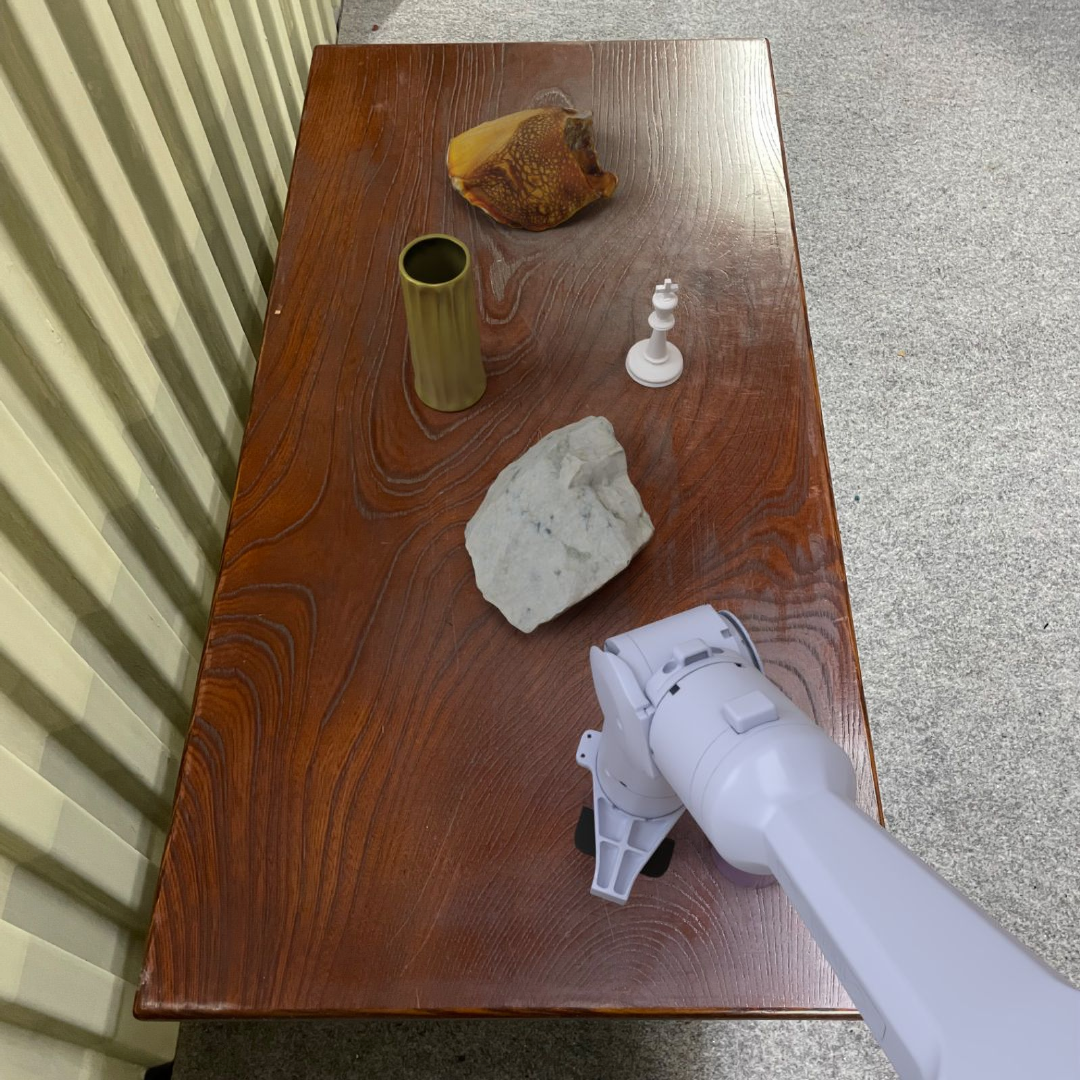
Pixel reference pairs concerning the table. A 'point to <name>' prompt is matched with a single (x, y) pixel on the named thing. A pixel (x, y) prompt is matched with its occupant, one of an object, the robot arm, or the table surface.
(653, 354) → the chess piece
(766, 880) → the purple round peg
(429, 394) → the vase
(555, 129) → the seashell
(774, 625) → the table surface
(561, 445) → the rock
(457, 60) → the table surface
